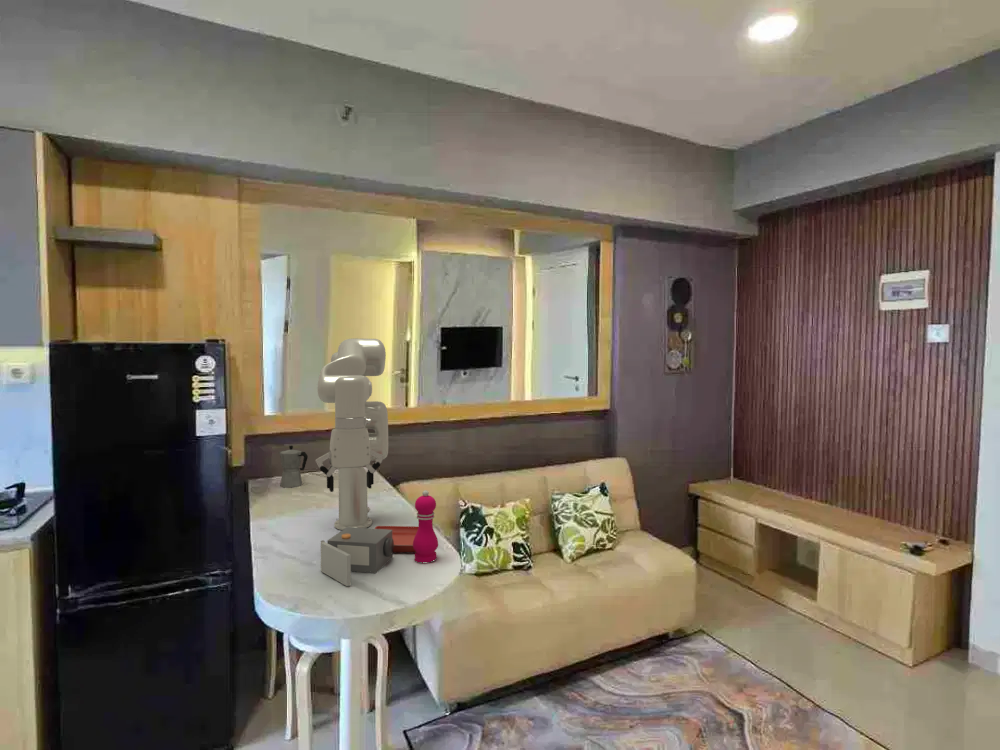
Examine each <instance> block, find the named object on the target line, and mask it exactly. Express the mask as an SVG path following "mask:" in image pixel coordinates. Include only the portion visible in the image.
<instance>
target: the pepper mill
mask: <svg viewBox="0 0 1000 750" xmlns="http://www.w3.org/2000/svg"><path fill="white" fill-rule="evenodd" d="M429 494H430V493H429V490H423V491H422V495H421V496H418V498H416V500H415V503H414V507H415V508H414V509H415V510H416V511H417V513H416V519H418V526H417V527H418V530H417V533H416V535H415V537H414V541H413V548H414V550H415V551H416V553H414V561H415V562H416V561H417V563H418V562H422V563H421V564H424V563H423V562H431V561H433V560H435V559H436V558H437V557H438V556H437V552H436V550H437V549H438V547H439V540H438V537H437V535H436V533H435V530H434V526H433V525H434V524H433V521H434V520H433V519H434V518H435V512H434V511H435V510H436V508H437V502H436V500H435V498H434V497H433V496H432V495H429ZM436 560H437V559H436ZM436 560H435V561H436ZM431 563H432V562H431Z"/></svg>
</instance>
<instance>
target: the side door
mask: <svg viewBox="0 0 1000 750" xmlns="http://www.w3.org/2000/svg"><path fill="white" fill-rule="evenodd" d="M320 571H321V572H322V573H323V574H325V575H327V576H328V577H330V578H332V579H333V580H335V581H337V582H339V583H341V584H342V585H345V586H346V587H350V586H352V585H351V584H352V578H351V576H352V574H351V573H352V571H351V555H350V554H348V553H346V552H344V551H342V550H340V549H338V548H336V547H334V546H332V545H330V544H328V542H325V540H322V539H321V540H320Z"/></svg>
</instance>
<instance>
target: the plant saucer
mask: <svg viewBox="0 0 1000 750" xmlns="http://www.w3.org/2000/svg"><path fill="white" fill-rule="evenodd" d="M374 529H387V530H392V539H393V541H394V549H393V553H405V552H416V551H415V550H414V548H413V541H414V537H415V535H416V533H417V530H418V526H410V525H409V526H407V525H406V526H405V525H404V526H403V525H398V526H397V525H377V526H375V528H374Z"/></svg>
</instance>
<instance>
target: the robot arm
mask: <svg viewBox="0 0 1000 750" xmlns="http://www.w3.org/2000/svg"><path fill="white" fill-rule="evenodd" d="M386 355H387V353H386V347H385V345H384V342H382V340H380V339H377V338H358V337H357V338H346V339H344V340H342V341H341V342H340V343H339V345H338V348H337V352H334V353H332V355H331V356H330V362H328V363H327V364H325V365H324V366H322V368H321V370H320V372H319V374H318V375H319V376H318V380H317V396H318V398H319V399H320V401H321V402H324V404H325V403H326V404H327V403H328V404H334V428H333V429H332V430H331V433H330V441H329V442H330V443H329V451H328V452H326V453H324V454H323V455H321V456H319V457H318V458H316V459H314V460H315V463H316V464H317V466H318V468H319V470H320V472H322V473H323V474H324V475H325V476H326V488H327V489H328V490H329V492H330V493H333V492H335V491H334V487H335V486H334V476H333V474H334V473H335V472H336V470H338V519H337V520H336V521H334V523H333V524H334V525H333V527H334V529H337V530H339V531H342V530H343V529H345V528H346V527H354V528H368V527H371V526H372V525H373V520H372V519H371V518H369V517H368V513H370V511H371V508H370V507H368V489H372V485H374V479H375V478H374V477H375V476H374V474H375V473H376V471H377V470H378V468H379V467H380V466H381V463H383V460H385V459H386V458H387V457H388V455H389V418H388V417H389V415H388V408H387V406H386V404H385V403H384V402H382V401H378V400H377V401H368V400H369V398H370V397H371V396H372V393H373V384H372V382H371V380H370V379H369V377H379V376H381V375H383V374H384V372H385V369H386ZM368 430H373V431H374V432H369V431H368ZM328 459H329V464H330V466H329V467H328V468H327V467H326V466H324V464H323V463H324V462H325V461H326V460H328ZM371 461H372V462H373V461H375V462H374V463H373V464H371ZM364 467H365V468H364ZM366 469H367V470H366Z"/></svg>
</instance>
